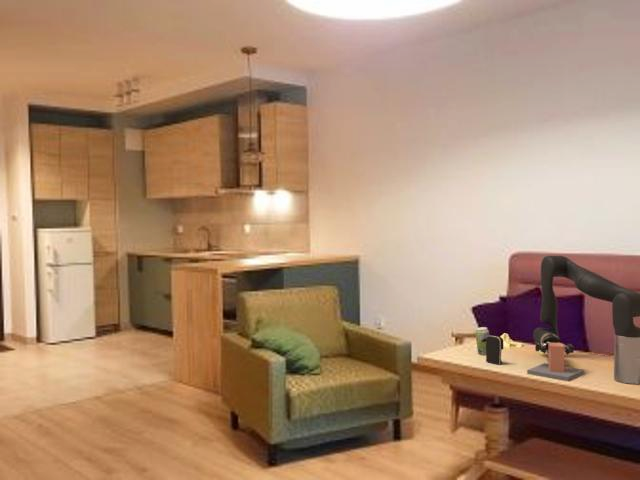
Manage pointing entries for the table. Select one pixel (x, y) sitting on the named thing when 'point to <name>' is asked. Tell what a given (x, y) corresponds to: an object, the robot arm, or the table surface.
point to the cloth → (509, 342)
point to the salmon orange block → (556, 357)
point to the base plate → (545, 372)
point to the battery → (494, 349)
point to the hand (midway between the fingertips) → (556, 351)
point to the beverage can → (481, 339)
